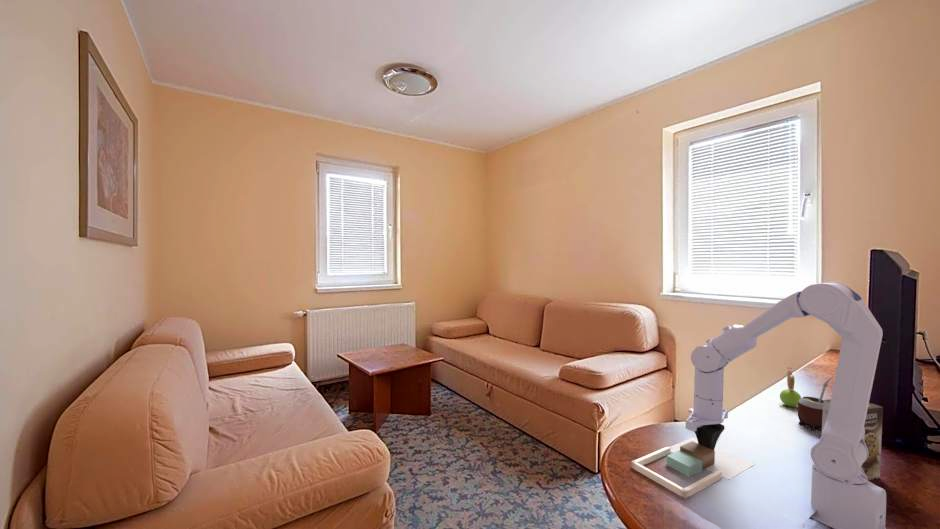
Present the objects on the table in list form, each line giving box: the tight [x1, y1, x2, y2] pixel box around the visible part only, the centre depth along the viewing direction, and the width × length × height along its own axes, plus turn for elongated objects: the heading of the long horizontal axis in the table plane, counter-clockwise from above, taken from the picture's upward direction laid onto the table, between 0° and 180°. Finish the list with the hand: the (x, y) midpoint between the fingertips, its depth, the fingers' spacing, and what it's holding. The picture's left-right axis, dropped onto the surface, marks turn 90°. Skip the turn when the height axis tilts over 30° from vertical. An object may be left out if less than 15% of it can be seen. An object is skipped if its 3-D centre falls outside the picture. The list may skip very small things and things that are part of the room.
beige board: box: [669, 436, 756, 480], centre depth 87 cm, size 14×12×2 cm
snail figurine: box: [779, 366, 802, 408], centre depth 122 cm, size 5×6×12 cm
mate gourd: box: [797, 374, 834, 432], centre depth 106 cm, size 8×8×15 cm
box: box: [630, 446, 723, 500], centre depth 80 cm, size 12×14×3 cm
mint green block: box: [666, 450, 703, 478], centre depth 82 cm, size 5×5×3 cm
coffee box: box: [820, 398, 884, 481], centre depth 84 cm, size 9×6×16 cm
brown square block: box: [680, 441, 715, 471], centre depth 85 cm, size 5×5×3 cm
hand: (706, 453), depth 87 cm, fingers closed
